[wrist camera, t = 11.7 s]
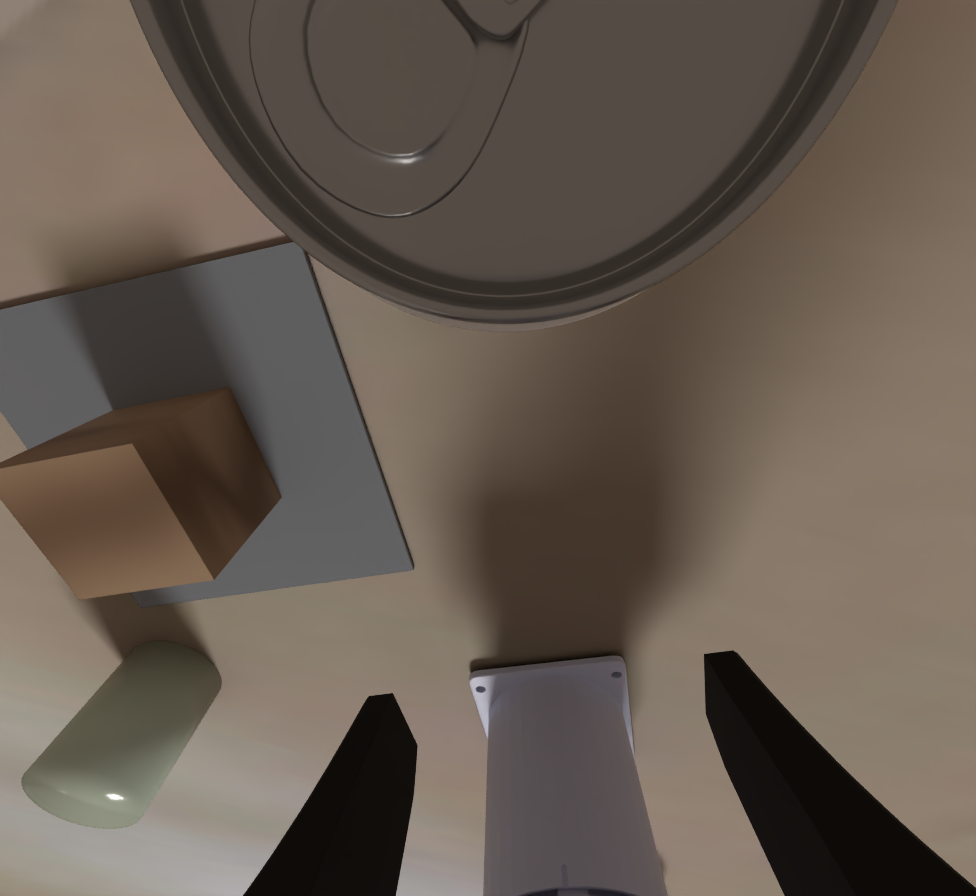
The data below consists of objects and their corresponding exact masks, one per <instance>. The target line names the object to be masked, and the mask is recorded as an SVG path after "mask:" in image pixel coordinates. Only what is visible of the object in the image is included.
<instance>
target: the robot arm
mask: <svg viewBox="0 0 976 896" xmlns="http://www.w3.org/2000/svg"><path fill="white" fill-rule="evenodd" d="M704 670H705V702H706V716H707V718H708V721H709V724H710V727H711V730H712V733H713V735H714V738H715V741H716V744H717V747H718V749H719V752H720V755H721V757H722V760H723V763H724V766H725V768H726V770H727V772H728V775H729V777H730V779H731V781H732V783H733V786H734V788H735V790H736V792H737V794H738V796H739V799H740V801H741V803H742V805H743V807H744V809H745V812H746V814H747V816H748V818H749V820H750V822H751V824H752V827H753V829H754V831H755V833H756V835H757V837H758V839H759V842H760V844H761V846H762V848H763V850H764V852H765V854H766V857H767V859H768V861H769V863H770V865H771V867H772V870H773V872H774V874H775V876H776V878H777V880H778V882H779V885H780V887H781V889H782V891H783V893H784V895H785V896H976V888H975V887H974V886H973V885H972V884H971V883H969V882H968V881H967V880H966V879H965V878H963V877H962V876H961V875H960V874H959V873H958V872H957V871H955V870H954V869H953V868H952V867H951V866H950V865H949V864H947V863H946V862H945V861H944V860H943V859H942V858H940V857H939V856H938V855H937V854H936V853H935V852H934V851H932V850H931V849H930V848H929V847H928V846H927V845H926V844H924V843H923V842H922V841H921V840H920V839H919V838H918V837H917V836H916V835H914V834H913V833H912V832H911V831H910V830H909V829H908V828H907V827H906V826H904V825H903V824H902V823H901V822H900V821H899V820H898V819H897V818H896V817H895V816H894V815H892V814H891V813H890V812H889V811H888V810H887V809H886V808H885V807H884V806H883V805H882V804H881V803H880V802H879V801H878V800H876V799H875V798H874V797H873V796H872V795H871V794H870V793H869V792H868V791H867V790H866V789H865V788H864V787H863V786H862V785H861V784H860V783H859V782H858V781H856V780H855V779H854V778H853V777H852V776H851V775H850V774H849V773H848V772H847V771H846V770H845V769H844V768H843V767H842V766H841V765H840V764H839V763H838V762H837V761H836V760H835V759H834V758H833V757H832V756H831V755H830V754H829V753H828V752H827V751H826V750H825V749H824V748H823V747H822V746H821V745H820V744H819V743H818V742H817V741H816V739H815V738H814V737H813V736H812V735H811V734H810V733H809V732H808V731H807V730H806V729H805V728H804V727H803V726H802V725H801V724H800V723H799V722H798V721H797V720H796V719H795V718H794V717H793V716H792V715H791V713H790V712H789V711H788V710H787V709H786V708H785V707H784V706H783V705H782V704H781V703H780V701H779V700H778V699H777V698H776V697H775V696H774V695H773V694H772V693H771V692H770V690H769V689H768V688H767V687H766V686H765V685H764V684H763V682H762V681H761V680H760V679H759V678H758V677H757V676H756V674H755V673H754V672H753V671H752V670H751V669H750V667H749V666H748V665H747V664H746V663H745V661H744V660H743V659H742V658H741V657H740V655H739V654H738V653H736V652H735V651H725V652H717V653H709V654H704ZM469 684H470V687H471V690H472V693H473V696H474V699H475V703H476V706H477V709H478V712H479V715H480V718H481V721H482V724H483V727H484V730H485V734H486V737H487V740H488V756H487V789H486V822H485V856H484V889H483V896H668V894H667V890H666V886H665V882H664V878H663V874H662V870H661V866H660V862H659V858H658V854H657V850H656V846H655V842H654V838H653V834H652V829H651V825H650V821H649V817H648V813H647V809H646V805H645V801H644V797H643V793H642V789H641V785H640V781H639V777H638V773H637V769H636V765H635V756H634V746H633V736H632V726H631V716H630V706H629V695H628V685H627V675H626V666H625V662H624V660H623V658H622V657H620V656H614V655H613V656H604V657H595V658H586V659H577V660H568V661H559V662H550V663H541V664H532V665H522V666H513V667H504V668H495V669H486V670H477V671H474V672H472V673H471V674H470V677H469ZM416 759H417V743H416V741H415V739H414V737H413V735H412V733H411V731H410V728H409V726H408V724H407V722H406V720H405V718H404V716H403V714H402V712H401V709H400V707H399V705H398V703H397V701H396V699H395V697H394V695H393V693H391V694H383V695H375V696H369V697H368V698H367V699H366V701H365V703H364V704H363V706H362V708H361V710H360V711H359V713H358V715H357V717H356V718H355V720H354V722H353V724H352V725H351V727H350V729H349V731H348V732H347V734H346V736H345V738H344V739H343V741H342V743H341V745H340V746H339V748H338V750H337V751H336V753H335V755H334V757H333V758H332V760H331V762H330V763H329V765H328V767H327V768H326V770H325V772H324V773H323V775H322V777H321V778H320V780H319V782H318V783H317V785H316V787H315V788H314V790H313V792H312V793H311V795H310V796H309V798H308V800H307V801H306V803H305V805H304V806H303V808H302V809H301V811H300V812H299V814H298V816H297V817H296V819H295V820H294V822H293V823H292V825H291V826H290V828H289V829H288V831H287V832H286V834H285V835H284V837H283V838H282V840H281V842H280V843H279V845H278V846H277V848H276V849H275V851H274V852H273V854H272V855H271V857H270V858H269V860H268V861H267V862H266V864H265V865H264V867H263V868H262V870H261V871H260V873H259V874H258V875H257V877H256V878H255V880H254V881H253V883H252V884H251V885H250V887H249V888H248V890H247V891H246V892H245V894H244V895H243V896H396V891H397V886H398V880H399V875H400V869H401V864H402V858H403V853H404V847H405V842H406V836H407V831H408V825H409V819H410V814H411V808H412V802H413V796H414V785H415V774H416Z"/></svg>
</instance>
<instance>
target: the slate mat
mask: <svg viewBox="0 0 976 896" xmlns="http://www.w3.org/2000/svg"><path fill="white" fill-rule="evenodd" d="M226 387H230V388H231V390H232V393H233V395H234V397H235V399H236V401H237V403H238V405H239V407H240V410H241V412H242V414H243V416H244V418H245V420H246V422H247V424H248V427H249V429H250V431H251V433H252V435H253V437H254V439H255V441H256V444H257V446H258V448H259V450H260V452H261V454H262V456H263V458H264V461H265V463H266V465H267V467H268V469H269V471H270V473H271V475H272V478H273V480H274V482H275V484H276V486H277V488H278V490H279V492H280V495H281V497H282V498H281V499H280V500H279V502H278V503H277V504H276V505H275V507H274V508H273V509H272V510H271V511H270V513H269V514H268V515H267V516H266V518H265V519H264V520H263V521H262V522H261V524H260V525H259V526H258V527H257V528H256V530H255V531H254V532H253V533H252V535H251V536H250V537H249V538H248V539H247V541H246V542H245V543H244V544H243V546H242V547H241V548H240V549H239V550H238V552H237V553H236V554H235V555H234V556H233V558H232V559H231V560H230V561H229V563H228V564H227V565H226V566H225V567H224V569H223V570H222V571H221V572H220V574H219V575H218V576H217V577H216V578H215V580H211V581H204V582H197V583H190V584H184V585H177V586H170V587H163V588H156V589H150V590H143V591H136V592H130V594H131V595H132V596H133V598H134V599H135V601H136V602H137V603H138V605H139V606H140V608H143V607H150V606H158V605H165V604H172V603H179V602H187V601H194V600H201V599H208V598H215V597H223V596H230V595H237V594H244V593H252V592H259V591H266V590H273V589H281V588H288V587H295V586H302V585H309V584H317V583H324V582H331V581H338V580H346V579H353V578H360V577H367V576H374V575H382V574H389V573H396V572H403V571H411V570H414V565H413V562H412V559H411V556H410V553H409V550H408V548H407V545H406V542H405V539H404V536H403V533H402V530H401V527H400V524H399V521H398V518H397V516H396V513H395V510H394V507H393V504H392V501H391V498H390V495H389V492H388V489H387V486H386V484H385V481H384V478H383V475H382V472H381V469H380V466H379V463H378V460H377V457H376V454H375V452H374V449H373V446H372V443H371V440H370V437H369V434H368V431H367V428H366V425H365V423H364V420H363V417H362V414H361V411H360V408H359V405H358V402H357V399H356V396H355V393H354V391H353V388H352V385H351V382H350V379H349V376H348V373H347V370H346V367H345V364H344V361H343V359H342V356H341V353H340V350H339V347H338V344H337V341H336V338H335V335H334V332H333V330H332V327H331V324H330V321H329V318H328V315H327V312H326V309H325V306H324V303H323V300H322V298H321V295H320V292H319V289H318V286H317V283H316V280H315V277H314V274H313V271H312V268H311V266H310V263H309V260H308V257H307V254H306V251H304V250H303V249H302V248H300V247H299V246H298V245H297V244H296V243H294V242H291V243H286V244H282V245H278V246H273V247H269V248H265V249H260V250H256V251H252V252H247V253H243V254H239V255H234V256H230V257H226V258H221V259H217V260H213V261H208V262H204V263H200V264H195V265H191V266H187V267H182V268H178V269H174V270H169V271H165V272H161V273H156V274H152V275H148V276H143V277H139V278H135V279H130V280H126V281H122V282H117V283H113V284H109V285H104V286H100V287H96V288H91V289H87V290H83V291H78V292H74V293H70V294H65V295H61V296H57V297H52V298H48V299H44V300H40V301H35V302H31V303H27V304H22V305H18V306H14V307H9V308H5V309H1V310H0V411H1V412H2V414H3V415H4V417H5V418H6V419H7V421H8V422H9V424H10V425H11V426H12V428H13V429H14V431H15V432H16V433H17V435H18V436H19V438H20V439H21V440H22V442H23V443H24V445H25V446H26V448H27V449H28V450H29V449H31V448H33V447H35V446H37V445H39V444H41V443H44V442H46V441H48V440H50V439H52V438H54V437H56V436H59V435H61V434H63V433H65V432H67V431H69V430H71V429H74V428H76V427H78V426H80V425H82V424H84V423H86V422H89V421H91V420H93V419H95V418H97V417H99V416H101V415H104V414H106V413H108V412H110V411H112V410H116V409H121V408H126V407H131V406H136V405H141V404H146V403H151V402H156V401H161V400H166V399H171V398H176V397H181V396H186V395H191V394H196V393H201V392H206V391H211V390H216V389H221V388H226Z"/></svg>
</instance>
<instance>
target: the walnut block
mask: <svg viewBox="0 0 976 896" xmlns="http://www.w3.org/2000/svg"><path fill="white" fill-rule="evenodd" d="M281 498H282V497H281V495H280V492H279V490H278V488H277V486H276V484H275V482H274V480H273V478H272V475H271V473H270V471H269V469H268V467H267V465H266V463H265V461H264V458H263V456H262V454H261V452H260V450H259V448H258V446H257V444H256V441H255V439H254V437H253V435H252V433H251V431H250V429H249V427H248V424H247V422H246V420H245V418H244V416H243V414H242V412H241V410H240V407H239V405H238V403H237V401H236V399H235V397H234V395H233V393H232V390H231V388H230V387H226V388H221V389H216V390H211V391H206V392H201V393H196V394H191V395H186V396H181V397H176V398H171V399H166V400H161V401H156V402H151V403H146V404H141V405H136V406H131V407H126V408H121V409H116V410H112V411H110V412H108V413H106V414H104V415H101V416H99V417H97V418H95V419H93V420H91V421H89V422H86V423H84V424H82V425H80V426H78V427H76V428H74V429H71V430H69V431H67V432H65V433H63V434H61V435H59V436H56V437H54V438H52V439H50V440H48V441H46V442H44V443H41V444H39V445H37V446H35V447H33V448H31V449H29V450H26V451H24V452H22V453H20V454H18V455H16V456H14V457H11V458H9V459H7V460H5V461H3V462H1V463H0V499H1V501H2V502H3V503H4V504H5V506H6V507H7V508H8V510H9V511H10V512H11V513H12V515H13V516H14V517H15V518H16V520H17V521H18V522H19V524H20V525H21V526H22V527H23V529H24V530H25V531H26V532H27V534H28V535H29V536H30V537H31V539H32V540H33V541H34V543H35V544H36V545H37V546H38V548H39V549H40V550H41V551H42V553H43V554H44V555H45V557H46V558H47V559H48V560H49V562H50V563H51V564H52V565H53V567H54V568H55V569H56V571H57V572H58V573H59V574H60V576H61V577H62V578H63V579H64V581H65V582H66V583H67V584H68V586H69V587H70V588H71V590H72V591H73V592H74V593H75V595H76V596H77V597H78V598H79V600H82V599H89V598H95V597H102V596H109V595H116V594H122V593H129V592H136V591H143V590H150V589H156V588H163V587H170V586H177V585H184V584H190V583H197V582H204V581H211V580H215V578H216V577H217V576H218V575H219V574H220V572H221V571H222V570H223V569H224V567H225V566H226V565H227V564H228V563H229V561H230V560H231V559H232V558H233V556H234V555H235V554H236V553H237V552H238V550H239V549H240V548H241V547H242V546H243V544H244V543H245V542H246V541H247V539H248V538H249V537H250V536H251V535H252V533H253V532H254V531H255V530H256V528H257V527H258V526H259V525H260V524H261V522H262V521H263V520H264V519H265V518H266V516H267V515H268V514H269V513H270V511H271V510H272V509H273V508H274V507H275V505H276V504H277V503H278V502H279V500H280V499H281Z"/></svg>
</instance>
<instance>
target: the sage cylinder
mask: <svg viewBox="0 0 976 896" xmlns="http://www.w3.org/2000/svg"><path fill="white" fill-rule="evenodd" d="M221 685H222V680H221V676H220V673H219V671H218V670H217V668H216V667H215V666H214V664H213V663H212V662H211V661H210V660H209V659H207V658H206V657H205V656H203V655H202V654H201V653H199V652H197V651H195V650H193V649H191V648H189V647H186V646H184V645H180V644H177V643H172V642H165V641H154V642H147V643H144V644H141V645H139V646H137V647H136V648H134V649H133V650H132V652H131V653H130V654H129V655H128V656H127V657H126V658H125V659H124V661H123V662H122V663H121V664H120V665H119V666H118V667H117V669H116V670H115V671H114V672H113V673H112V674H111V675H110V677H109V678H108V679H107V680H106V681H105V682H104V683H103V685H102V686H101V687H100V688H99V689H98V690H97V691H96V692H95V694H94V695H93V696H92V697H91V698H90V699H89V700H88V702H87V703H86V704H85V705H84V706H83V707H82V708H81V710H80V711H79V712H78V713H77V714H76V715H75V716H74V718H73V719H72V720H71V721H70V722H69V723H68V724H67V725H66V727H65V728H64V729H63V730H62V731H61V732H60V733H59V735H58V736H57V737H56V738H55V739H54V740H53V741H52V743H51V744H50V745H49V746H48V747H47V748H46V749H45V751H44V752H43V753H42V754H41V755H40V756H39V757H38V758H37V760H36V761H35V762H34V763H33V764H32V765H31V766H30V768H29V769H28V770H27V771H26V772H25V773H24V775H23V777H22V781H21V782H22V787H23V790H24V792H25V793H26V795H27V796H28V797H29V798H30V799H31V800H32V801H33V802H34V803H35V804H36V805H38V806H39V807H40V808H42V809H43V810H45V811H47V812H48V813H50V814H52V815H54V816H56V817H58V818H61V819H63V820H66V821H69V822H72V823H75V824H79V825H83V826H87V827H93V828H102V829H116V828H123V827H128V826H131V825H133V824H135V823H137V822H138V821H139V820H140V819H141V818H142V817H143V815H144V813H145V812H146V810H147V808H148V807H149V805H150V804H151V802H152V800H153V799H154V797H155V795H156V794H157V792H158V791H159V789H160V787H161V786H162V784H163V782H164V781H165V779H166V778H167V776H168V774H169V773H170V771H171V769H172V768H173V766H174V764H175V763H176V761H177V760H178V758H179V756H180V755H181V753H182V751H183V750H184V748H185V747H186V745H187V743H188V742H189V740H190V738H191V737H192V735H193V734H194V732H195V730H196V729H197V727H198V725H199V724H200V722H201V720H202V719H203V717H204V716H205V714H206V712H207V711H208V709H209V707H210V706H211V704H212V703H213V701H214V699H215V698H216V696H217V694H218V693H219V691H220V689H221Z"/></svg>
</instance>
